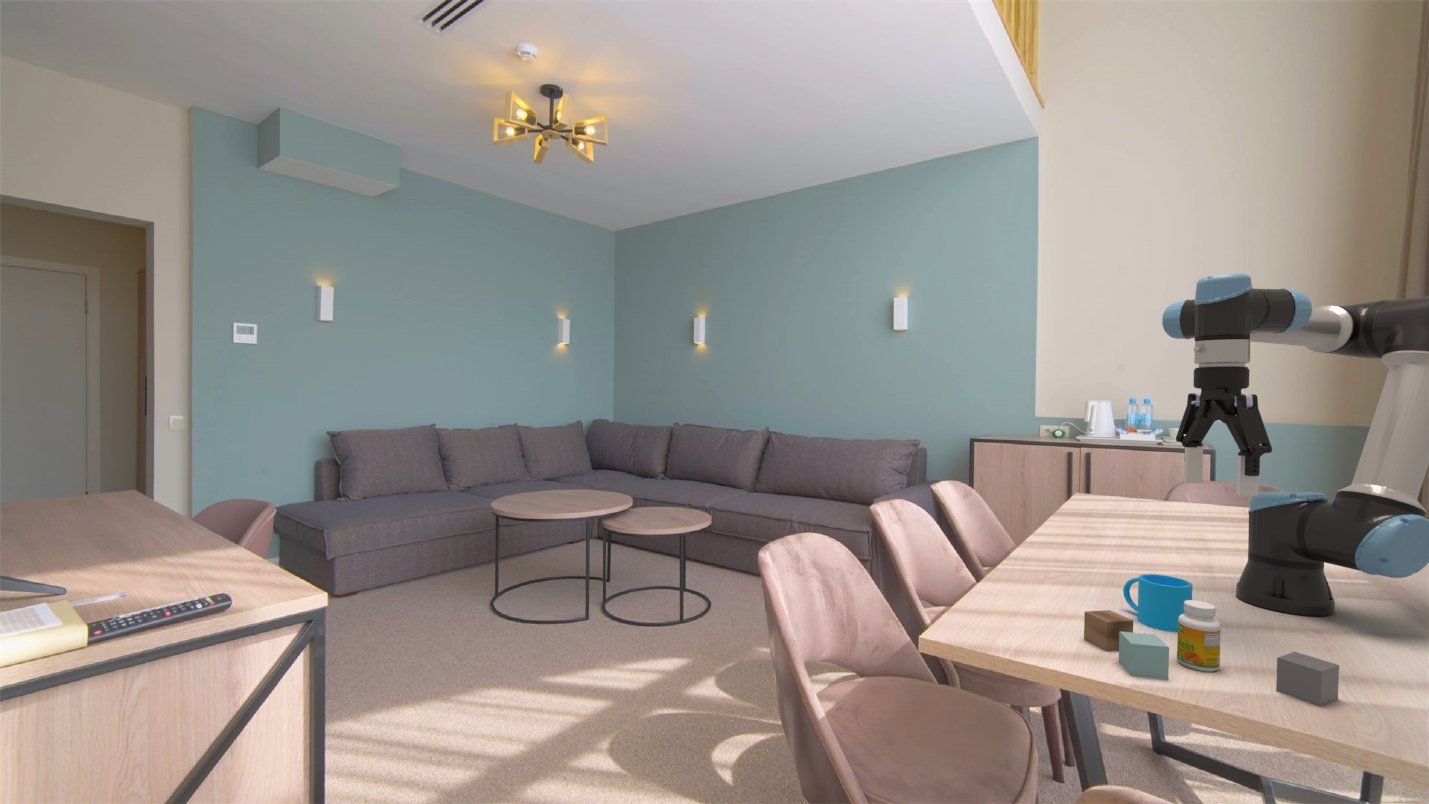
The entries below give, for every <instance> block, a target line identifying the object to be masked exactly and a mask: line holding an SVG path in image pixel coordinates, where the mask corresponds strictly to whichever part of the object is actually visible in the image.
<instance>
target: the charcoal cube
mask: <svg viewBox="0 0 1429 804" xmlns="http://www.w3.org/2000/svg"><path fill="white" fill-rule="evenodd" d="M1339 677H1340V665H1339V664H1337V663H1334V662H1330V661H1327V660H1323V659H1320V658H1317V657H1314V656H1310V655H1307V654H1304V653H1300V652H1298V651H1292V652H1289V653H1286V654H1284V655H1281V656H1278V657H1277V658H1276V681H1275V682H1276V688H1275V692H1278V693H1280V694H1284V695H1287V696H1289V697H1291V698H1295V699H1297V700H1301V701H1303V702H1305V703H1309V704H1312V705H1314V706H1318V707H1321V708H1322V707H1324V706H1326V705H1328V704H1331V703H1333V702H1335V701H1338V700H1339V684H1340V683H1339V680H1340V678H1339Z"/></svg>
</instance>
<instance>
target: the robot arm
mask: <svg viewBox="0 0 1429 804" xmlns="http://www.w3.org/2000/svg"><path fill="white" fill-rule="evenodd" d="M1195 287H1196V288H1195V297H1194V299H1184V300H1181V301H1178V302H1173V303H1171V304H1169V305H1168V306H1167V307H1166V308H1165V310H1164V312H1163V314H1162V322H1161V323H1162V328H1163V330H1164V332H1165V333H1166V335H1167V336H1168V337H1170V338H1172V339H1177V340H1179V339H1180V340H1182V339H1184V340H1191V339H1194V347H1193V352H1194V356H1193V357H1194V361H1193V362H1194V364H1195V365H1198V367H1195V369H1193V387H1194V388H1195V389H1199V390H1201V391H1200V393H1199V392H1197V393H1195V392H1194V393H1193V392H1192V393H1188V395H1187V399H1186V400H1187V401H1186V402H1187V403H1186V407H1185V410H1184V413H1183V416H1182V419H1181V422H1180V424H1179V427H1178V431H1177V433H1176V436H1175V441H1176V442H1177V443H1180V444H1181V445H1182V447H1184V450H1183V451H1184V453H1183V455H1184V456H1183V457H1184V458H1183V459H1184V464H1183V465H1184V470H1183V472H1184V473H1183V477H1184V478H1183V482H1184V483H1185V484H1203V482H1204V479H1203V478H1204V477H1203V476H1204V475H1203V474H1204V471H1203V470H1204V446H1205V445H1203V443H1202V442H1203V440H1204V439H1205V437H1206V436H1207V434H1208V432H1209V431H1210V429H1211V428H1212V427H1213V424H1214V423H1215V422H1217V421H1220V422H1222V423H1223V424H1225V425H1226V427H1227V429H1228V431H1229V432H1230V434H1231V436H1232V438H1233V440H1234V442H1235V443H1236V445H1237V448H1238V449H1239V452H1238V453H1237V457H1236V458H1237V459H1236V461H1237V463H1236V496H1239V497H1246V496H1247V497H1250V502H1249V509H1248V542H1247V547H1248V549H1247V551H1248V552H1247V562H1246V564H1245V566H1244V569H1243V571H1242V572H1241V574H1240V577H1239V580H1238V582H1237V583H1236V587H1235V596H1236V598H1238V599H1239V600H1240V601H1243V602H1245V603H1247V604H1250V605H1252V606H1255V607H1259V608H1264V609H1268V610H1272V611H1276V612H1280V613H1286V614H1287V613H1288V614H1292V615H1299V616H1300V615H1302V616H1312V617H1313V616H1314V617H1325V616H1332V615H1334V614H1335V613H1336V612H1335V611H1336V601H1335V598H1334V596H1333V593H1332V591H1331V588H1330V585H1329V582H1328V580H1327V578H1326V577H1327V576H1326V574H1325V572H1324V571H1325V564H1329V565H1334V566H1339V567H1342V568H1347V569H1351V570H1356V571H1360V572H1362V573H1365V574H1367V575H1370V576H1383V577H1388V578H1393V579H1403V578H1407V577H1410V576H1411V577H1412V576H1413V574H1417V573H1418V572H1419V573H1420V571H1422V570H1423V569H1424V568H1425V567H1426V566H1427V565H1428V564H1429V519H1428V518H1426V514H1427V510H1426V508H1425V507H1423V505H1422V504H1421V503H1420V502H1419V500H1418V498H1419V495H1420V491H1421V488H1422V485H1423V482H1424V480H1425V476H1426V473H1427V470H1428V467H1429V295H1425V296H1416V297H1406V298H1397V299H1388V300H1387V299H1385V300H1377V301H1370V302H1363V303H1357V304H1348V305H1322V306H1318V307H1315V308H1313V305H1312V302H1311V299H1310V298H1309V297H1308V295H1306V294H1305V293H1303V292H1302V291H1300V290H1299V291H1298V290H1292V289H1287V288H1279V289H1278V288H1253V284H1252V278H1251V276H1250V275H1248V274H1246V273H1225V274H1224V273H1222V274H1215V275H1209V276H1205V277H1202V278H1200V279H1199V280H1198V281H1197V282H1196V286H1195ZM1251 343H1262V344H1273V345H1287V346H1298V347H1305V348H1306V349H1308V350H1310V351H1313V352H1315V353H1322V354H1333V355H1340V356H1347V357H1354V358H1360V359H1361V358H1362V359H1373V360H1374V359H1375V360H1380V361H1381V362H1382V363H1383V364H1384V365H1385V366H1386V367H1387V368H1388V372H1387V376H1386V378H1385V382H1384V384H1383V387H1382V389H1381V393H1380V397H1379V399H1378V403H1377V406H1376V409H1375V412H1374V415H1373V418H1372V422H1371V424H1370V427H1369V430H1368V433H1367V436H1366V440H1365V442H1364V446H1363V449H1362V452H1361V455H1360V458H1359V460H1358V464H1357V466H1356V469H1355V473H1354V476H1353V478H1352V482H1351V484H1350V485H1348V486H1346V487H1343V488H1341V489H1338V490H1337V492H1336V495H1335V498H1334V501H1333V502H1331V501H1330V502H1329V501H1328V500H1329V499H1328V497H1327V495H1326V494H1325V493H1323V492H1314V491H1313V492H1312V491H1259V476H1260V474H1261V473H1260V472H1261V471H1260V468H1261V467H1260V466H1261V456H1263V455H1264V454H1271V453H1272V452H1273V448H1272V445H1271V441H1270V438H1269V436H1268V433H1267V429H1266V427H1265V425H1264V421H1263V418H1262V415H1261V412H1260V409H1259V402H1258V400H1259V399H1258V395H1257V394H1255V393H1254V394H1249V393H1248V394H1247V393H1242V390H1243V389H1245V390H1246V389H1248V388H1249V387H1250V368H1249V367H1248V366H1246V364H1249V363H1250V362H1251Z"/></svg>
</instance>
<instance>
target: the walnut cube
mask: <svg viewBox="0 0 1429 804" xmlns="http://www.w3.org/2000/svg"><path fill="white" fill-rule="evenodd" d="M1083 623H1084V625H1083V640H1084V641H1085V642H1087V643H1090V644H1092V646H1095V647H1097V648H1099V649H1101V650H1103V651H1104V652H1117V651H1118V652H1119V631H1121V632H1131V633H1134V620H1133V619H1131V618H1130V617H1129V618H1128V617H1126V616H1125V615H1122V614H1119V613H1117V612H1115V611H1114V610H1110V609H1107V610H1090V611H1089V610H1088V611H1087V610H1086V611H1084V621H1083Z"/></svg>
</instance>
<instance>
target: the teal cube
mask: <svg viewBox="0 0 1429 804" xmlns="http://www.w3.org/2000/svg"><path fill="white" fill-rule="evenodd" d="M1118 663H1119V664H1120V665H1121V667H1122V668H1123V669H1124V670H1125V671H1126V672H1127V673H1128V674H1129V675H1130V676H1131V677H1140V678H1151V679H1157V680H1158V679H1159V680H1166V681H1168V680H1169V673H1170V672H1169V670H1170V669H1169V668H1170V667H1169V666H1170V647H1169V646H1168V644H1166V643H1165V642H1164V641H1163V640H1161V638H1160V637H1158V635H1156V634H1151V633H1140V632H1133V633H1131V632H1121V631H1119V651H1118Z"/></svg>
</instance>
